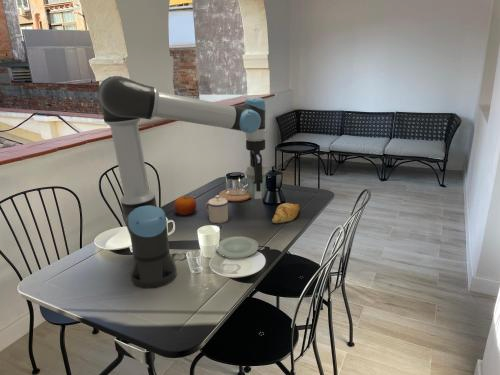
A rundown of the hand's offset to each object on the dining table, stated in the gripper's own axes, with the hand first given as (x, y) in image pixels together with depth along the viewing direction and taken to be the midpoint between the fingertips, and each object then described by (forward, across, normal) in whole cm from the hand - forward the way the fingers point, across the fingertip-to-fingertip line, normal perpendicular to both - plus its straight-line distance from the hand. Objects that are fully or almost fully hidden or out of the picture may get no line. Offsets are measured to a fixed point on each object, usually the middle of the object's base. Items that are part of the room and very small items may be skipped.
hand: (256, 194), depth 149 cm
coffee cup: (+1, 0, 0) cm, 1 cm away
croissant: (+17, +14, -16) cm, 27 cm away
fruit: (+17, +28, +30) cm, 44 cm away
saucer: (+17, -13, +10) cm, 24 cm away
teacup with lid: (+17, +18, +16) cm, 30 cm away
